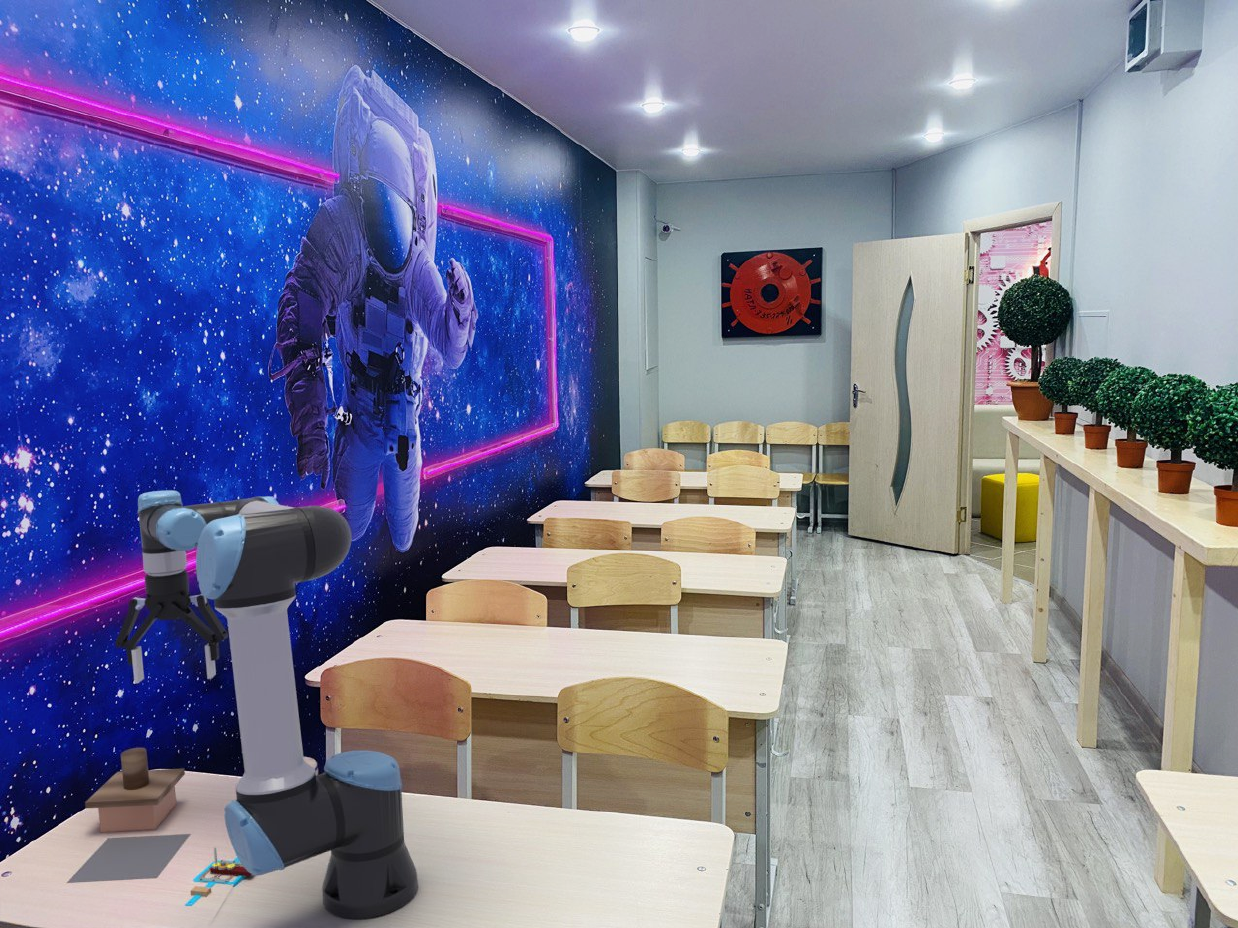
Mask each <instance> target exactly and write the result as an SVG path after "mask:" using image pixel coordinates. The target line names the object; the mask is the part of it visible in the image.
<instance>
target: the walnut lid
mask: <svg viewBox="0 0 1238 928" xmlns="http://www.w3.org/2000/svg"><path fill="white" fill-rule="evenodd" d="M147 754H148V753H147V749H146V748H145V747H133V748H129V749H126V750H124V751H122V752H121V753H120V761H121V771H117V772H116V773H115V774H114V775H112V776H111V777H110V778H109V779H108V780H107V781H106V782H105V783H104V784H103V785H102V786H100V788H99V789H97V791H96V792H94V793H93V794H92V795H91V796H90V797H89V798H88V799H86V801H84V806H85V809H98V808H106V807H126V806H146V805H158V804H159V803H160V802H161V800H162V799H163V798H164V797H165V796H166V795H167V794H168V793H169V792H170V790H171V789H172V788H173V787H174V786H175V787H176V785H177V784H178V783H179V782H180V781H181V780H182V778H184V776H185V774H186V771H185V768H169V769H168V768H167V769H166V768H165V769H150V770H149V766H148V764H149V763H148V755H147Z"/></svg>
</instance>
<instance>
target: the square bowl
mask: <svg viewBox="0 0 1238 928" xmlns="http://www.w3.org/2000/svg"><path fill="white" fill-rule="evenodd" d="M176 806H177V795H176V785H175V786H174V787H173V788H172V789H171V790H170V792H169V793H168V794H167V795H166V796H165V797H164V798H163V799H162V800H161V802H160V803H159V804H158V805H146V806H126V807H106V808H97V810H98V820H99V829H100V830H99V831H100V833H115V832H116V833H117V832H133V831H134V832H135V831H151V830H152V831H155V830H156V829H157V828H158V827H159V826H160V825H161V824H162V822H163V821H164V820H165V819H166V817H168V815H169V814H170V813H171V812H172V811H173V809H174V808H175V807H176Z"/></svg>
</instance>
